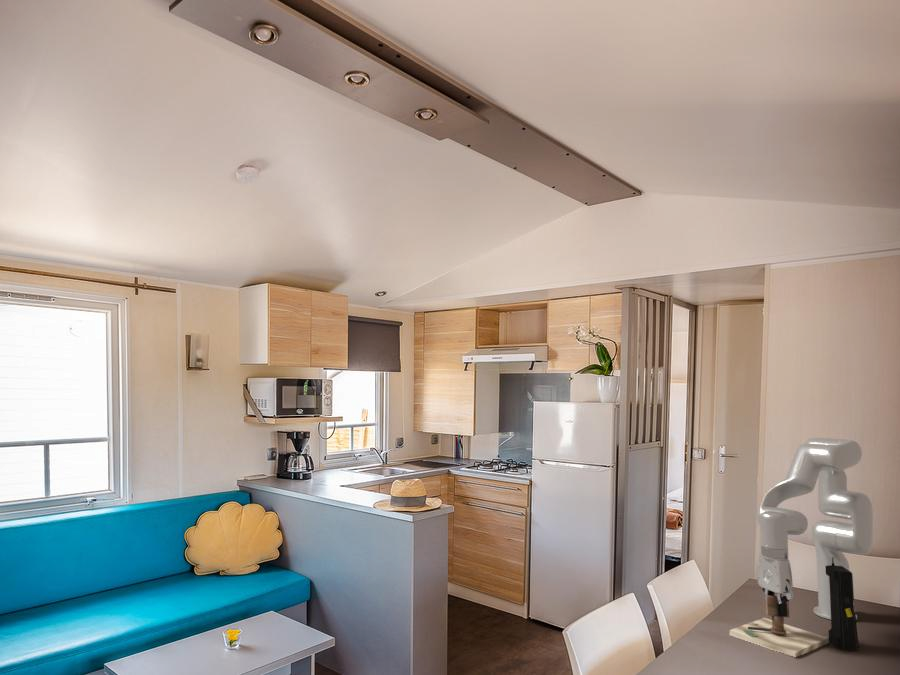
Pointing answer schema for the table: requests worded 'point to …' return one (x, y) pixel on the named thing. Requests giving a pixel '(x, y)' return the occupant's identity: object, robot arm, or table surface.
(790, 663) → the table surface
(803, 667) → the table surface
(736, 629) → the dial board
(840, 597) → the portable radio
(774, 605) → the tuning peg
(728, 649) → the table surface
